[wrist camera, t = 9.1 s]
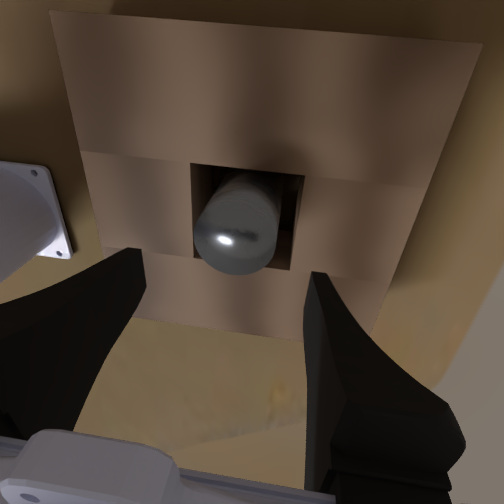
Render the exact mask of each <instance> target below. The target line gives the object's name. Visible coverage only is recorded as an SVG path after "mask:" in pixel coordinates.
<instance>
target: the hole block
mask: <svg viewBox="0 0 504 504" xmlns="http://www.w3.org/2000/svg"><path fill="white" fill-rule="evenodd" d="M48 11H49V15H50V20H51V24H52V28H53V33H54V37H55V42H56V46H57V51H58V55H59V60H60V64H61V69H62V73H63V78H64V82H65V86H66V91H67V95H68V100H69V104H70V109H71V113H72V118H73V122H74V127H75V131H76V136H77V140H78V144H79V149H80V153H81V158H82V162H83V167H84V171H85V176H86V180H87V185H88V189H89V194H90V198H91V202H92V207H93V211H94V216H95V220H96V225H97V229H98V234H99V238H100V243H101V247H102V252H103V256H104V259H106V258H108V257H109V256H111V255H113V254H115V253H117V252H119V251H121V250H123V249H125V248H127V247H130V248H138V249H142V256H143V263H144V270H145V277H146V284H147V287H146V290H145V292H144V294H143V297H142V299H141V301H140V303H139V305H138V307H137V309H136V311H135V312H134V314H133V315H132V317H135V318H142V319H149V320H156V321H163V322H170V323H176V324H183V325H190V326H197V327H204V328H211V329H217V330H224V331H231V332H238V333H245V334H252V335H259V336H265V337H272V338H279V339H286V340H293V341H300V342H304V340H303V309H304V304H305V299H306V294H307V289H308V285H309V280H310V275H311V271H316V272H323V273H327V274H328V276H329V278H330V279H331V281H332V283H333V285H334V287H335V289H336V290H337V292H338V294H339V295H340V297H341V299H342V300H343V302H344V303H345V305H346V306H347V308H348V309H349V311H350V312H351V314H352V315H353V317H354V318H355V319H356V321H357V322H358V323H359V325H360V326H361V327H362V328H363V330H364V331H365V332H366V333H367V334H368V336H369V337H370V334H371V332H372V329H373V326H374V324H375V321H376V319H377V316H378V314H379V311H380V309H381V306H382V303H383V301H384V298H385V296H386V293H387V291H388V288H389V286H390V283H391V280H392V278H393V275H394V273H395V270H396V268H397V265H398V263H399V260H400V257H401V255H402V252H403V250H404V247H405V245H406V242H407V240H408V237H409V234H410V232H411V229H412V227H413V224H414V222H415V219H416V217H417V214H418V211H419V209H420V206H421V204H422V201H423V199H424V196H425V193H426V191H427V188H428V186H429V183H430V181H431V178H432V176H433V173H434V170H435V168H436V165H437V163H438V160H439V158H440V155H441V153H442V150H443V147H444V145H445V142H446V140H447V137H448V135H449V132H450V130H451V127H452V124H453V122H454V119H455V117H456V114H457V112H458V109H459V107H460V104H461V101H462V99H463V96H464V94H465V91H466V89H467V86H468V83H469V81H470V78H471V76H472V73H473V71H474V68H475V66H476V63H477V60H478V58H479V55H480V53H481V50H482V48H483V45H484V44H483V43H471V42H458V41H445V40H432V39H419V38H406V37H393V36H381V35H368V34H355V33H342V32H329V31H316V30H304V29H291V28H278V27H265V26H252V25H239V24H226V23H214V22H201V21H188V20H175V19H162V18H149V17H136V16H124V15H111V14H98V13H85V12H72V11H59V10H48ZM212 165H215V166H225V167H234V168H243V169H252V170H261V171H270V172H279V173H288V174H298V175H300V181H299V187H298V194H297V200H296V206H295V213H294V219H293V226H292V231H285V230H278V234H277V241H276V248H275V252H274V255H273V257H272V259H271V260H270V262H269V263H268V264H267V265H266V266H265V267H264V268H262V269H261V270H259V271H257V272H255V273H252V274H248V275H230V274H226V273H223V272H220V271H218V270H216V269H214V268H213V267H211V266H210V265H208V264H207V263H206V262H205V261H204V260H203V259H202V257H201V256H200V255H199V253H198V251H197V249H196V247H195V243H194V235H193V233H194V227H195V224H196V222H197V220H198V218H199V217H200V215H201V213H202V212H203V210H204V209H205V207H206V206H207V204H208V202H209V201H210V199H211V198H212Z"/></svg>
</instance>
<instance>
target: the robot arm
mask: <svg viewBox="0 0 504 504" xmlns="http://www.w3.org/2000/svg"><path fill="white" fill-rule="evenodd" d="M34 170H35V171H36V172H37V174H36V173H35V171H34ZM36 255H41V256H48V257H55V258H63V259H70V258H71V257H72V256H73V251H72V248H71V244H70V241H69V237H68V234H67V230H66V227H65V223H64V220H63V216H62V213H61V209H60V206H59V202H58V199H57V195H56V192H55V188H54V184H53V181H52V177H51V174H50V171H49V170H48V169H47V168H46V167H45V166H41V165H32V164H24V163H15V162H6V161H0V283H1V282H3V281H4V280H5V279H6V278H8V277H9V276H10V275H11V274H13V273H14V272H15V271H17V270H18V269H19V268H20V267H22V266H23V265H24V264H26V263H27V262H28V261H29V260H31V259H32V258H33V257H35V256H36ZM146 287H147V284H146V277H145V270H144V263H143V256H142V249H138V248H130V247H127V248H125V249H123V250H121V251H119V252H117V253H115V254H113V255H111V256H109V257H108V258H106V259H104V260H102V261H100V262H98V263H97V264H95V265H93V266H91V267H89V268H87V269H86V270H84V271H82V272H80V273H77V274H75V275H73V276H71V277H69V278H67V279H65V280H63V281H61V282H59V283H57V284H54V285H52V286H50V287H47V288H45V289H42V290H40V291H37V292H35V293H32V294H30V295H27V296H24V297H21V298H18V299H15V300H12V301H9V302H6V303H3V304H0V504H452V502H451V499H450V496H449V494H448V491H451V490H452V486H451V482H450V480H449V477H448V474H447V472H448V471H449V470H450V468H451V467H452V466H453V465H454V464H455V463H456V462H457V461H458V459H459V458H460V457H461V456H462V454H463V452H464V450H465V448H466V441H465V438H464V436H463V434H462V431H461V429H460V426H459V424H458V422H457V420H456V418H455V416H454V414H453V412H452V410H451V408H450V406H449V404H448V403H447V402H445V401H444V400H442V399H441V398H440V397H438V396H437V395H435V394H434V393H433V392H431V391H430V390H429V389H427V388H426V387H424V386H423V385H422V384H420V383H419V382H418V381H417V380H415V379H414V378H413V377H412V376H410V375H409V374H408V373H407V372H405V371H404V370H403V369H402V368H401V367H400V366H399V365H397V364H396V363H395V362H394V361H393V360H392V359H391V358H390V357H389V356H388V355H387V354H386V353H385V352H384V351H382V350H381V349H380V348H379V346H378V345H377V344H376V343H375V342H374V341H373V340H372V339H371V338H370V337H369V336H368V334H367V333H366V332H365V331H364V330H363V328H362V327H361V326H360V325H359V323H358V322H357V321H356V319H355V318H354V317H353V315H352V314H351V312H350V311H349V309H348V308H347V306H346V305H345V303H344V302H343V300H342V299H341V297H340V295H339V294H338V292H337V290H336V289H335V287H334V285H333V283H332V281H331V279H330V278H329V276H328V274H327V273H323V272H316V271H311V275H310V280H309V285H308V289H307V294H306V299H305V304H304V309H303V340H304V351H305V363H306V375H307V428H306V429H307V430H306V460H305V483H304V490H302V489H296V488H290V487H285V486H279V485H273V484H268V483H262V482H256V481H250V480H245V479H240V478H234V477H228V476H223V475H217V474H211V473H206V472H200V471H194V470H189V469H183V468H178V467H177V465H176V464H175V462H174V461H173V459H172V457H171V456H169V455H167V454H166V453H164V452H163V451H161V450H160V449H158V448H154V447H151V446H148V445H145V444H141V443H136V442H130V441H124V440H119V439H113V438H107V437H101V436H96V435H90V434H84V433H78V432H73V429H74V427H75V424H76V422H77V420H78V417H79V415H80V412H81V410H82V408H83V405H84V403H85V401H86V399H87V396H88V394H89V392H90V390H91V388H92V386H93V383H94V381H95V379H96V377H97V375H98V373H99V371H100V369H101V367H102V365H103V363H104V361H105V359H106V357H107V355H108V354H109V352H110V350H111V348H112V347H113V345H114V344H115V342H116V340H117V339H118V337H119V336H120V334H121V333H122V331H123V330H124V328H125V326H126V325H127V323H128V322H129V320H130V319H131V317H132V315H133V314H134V312H135V311H136V309H137V307H138V305H139V303H140V301H141V299H142V297H143V294H144V292H145V290H146Z"/></svg>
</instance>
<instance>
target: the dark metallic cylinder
mask: <svg viewBox="0 0 504 504" xmlns="http://www.w3.org/2000/svg"><path fill="white" fill-rule="evenodd" d="M283 190H284V178H283V174H282V173H279V172H270V171H261V170H252V169H243V168H234V167H230V169H229V170H228V172H227V174H226V175H225V177H224V178H223V180H222V182H221V183H220V185H219V186H218V188H217V190H216V191H215V193H214V194H213V196H212V198H211V199H210V201H209V202H208V204H207V206H206V207H205V209H204V210H203V212H202V213H201V215H200V217H199V218H198V220H197V222H196V224H195V227H194V233H193V235H194V243H195V247H196V249H197V251H198V253H199V255H200V256H201V257H202V259H203V260H204V261H205V262H206V263H207V264H208V265H210V266H211V267H213V268H214V269H216V270H218V271H220V272H223V273H226V274H230V275H248V274H252V273H255V272H257V271H259V270H261V269H262V268H264V267H265V266H266V265H267V264H268V263H269V262H270V260H271V259H272V257H273V255H274V252H275V248H276V241H277V234H278V226H279V219H280V212H281V204H282V197H283Z"/></svg>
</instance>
